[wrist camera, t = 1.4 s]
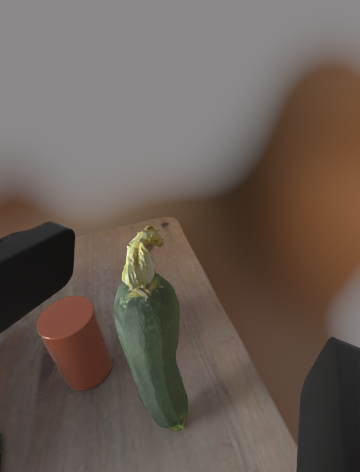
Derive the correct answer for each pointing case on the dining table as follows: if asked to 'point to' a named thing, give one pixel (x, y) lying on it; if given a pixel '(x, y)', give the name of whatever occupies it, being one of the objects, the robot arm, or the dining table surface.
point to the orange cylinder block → (75, 342)
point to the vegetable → (151, 333)
